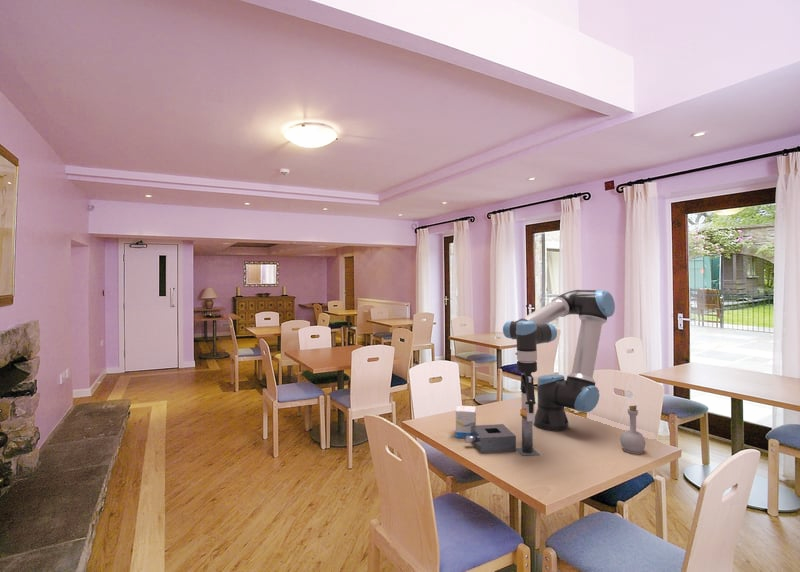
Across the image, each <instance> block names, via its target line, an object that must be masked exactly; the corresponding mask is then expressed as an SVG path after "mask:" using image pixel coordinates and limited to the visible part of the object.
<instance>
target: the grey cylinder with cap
mask: <svg viewBox="0 0 800 572" xmlns="http://www.w3.org/2000/svg"><path fill="white" fill-rule="evenodd" d="M519 415H520V417H521V448H522V451H523V452H525V453H532V452H533V448H534V446H533V441H534V439H533V437H534V436H533V433H534V432H533V431H534V430H533V428H534V421H527V408H523V409H522V408H520V412H519Z"/></svg>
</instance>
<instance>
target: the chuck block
mask: <svg viewBox="0 0 800 572" xmlns="http://www.w3.org/2000/svg"><path fill="white" fill-rule="evenodd" d="M465 442H466V443H468V444H469V443H473V444H474V446H475V447H476V448H477V449H478V451H479V452H480V454H491V453H492V454H493V453H507V452H508V453H509V452H517V450H516V448H517V435H516V434H515V433H513V432H512V431H511V430H510V429H509V428H508V427H507V426H506V425H505V424H503V423H500V424H499V423H498V424H483V425H482V424H480V425H479V424H478V425H477V424H476V426H471V436H466V438H465Z"/></svg>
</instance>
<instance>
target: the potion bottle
mask: <svg viewBox="0 0 800 572" xmlns="http://www.w3.org/2000/svg"><path fill="white" fill-rule="evenodd" d="M637 406H638V405H630V406H628V407H629V408H628V409H627V413H628V416H629V430H628V429H627V430H625V431H623V432H622V434H621V436H620V439H619V441H620V445H621V446H622V450H623V451H624V452H625V453H628V452H629V453H628V454H632V453H634V454H633V455H640V453H642V452H643V451H645V447H646V440H645V437H644V436H643V433H641V432H639V431H637V416H638V415H639V410H638V409H637ZM642 454H643V453H642Z"/></svg>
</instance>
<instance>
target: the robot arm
mask: <svg viewBox="0 0 800 572" xmlns="http://www.w3.org/2000/svg"><path fill="white" fill-rule="evenodd" d="M615 309H616V305H615V300H614V297H613V294H611V292H610V291H607V290H602V289H575V290H570V291H567V292H565V293H562V294H560V295H558V296H555V297H554V298H553V299H552V300H551V302H549V303H547V304H546V305H544V306H542V307H540V308H538V309H536V310H535V311H533V312H531V313H529V314H527V315H526V316H524V317H521V318H519V319H518V320H515V321H514V320H510V321H509V320H508V321H506V322H505V323H504V325H503V326H502V333H503V335H504V337H505V338H507V339H511V340H516V352H515V353H514V354H515V356H516V360H517V362H516V370H517V371H518V372H519V373H521V375H520V392H521V395H520V396H521V397H520V398H521V409H523V408H527V421H533V426H535V427H537V428H539V429H542V430H545V431H556V432H559V431H565V430H567V429H569V420H568V417H567V414H566V411H565V408H567V409H570V410H575V411H577V412H583V413H590V412H592V411H593V410H594V409H595V408H596V406H597V405H598V403H599V400H600V390H599V388H598V387H597V386H596V383H597V382H596V381H595V380H594V378H593V377H594V371H595V367H596V360H597V355H598V349H599V344H600V343H599V342H600V340H601V339H600V337H601V333H602V327H603V325H605V323H607V322H608V321H607V319H608V318H610V317H612V316H613V315H614V313H615ZM568 315H578V318H579V320H580V321H581V322H580V327H579V333H578V338H577V342H576V343H577V344H576V347H575V348H576V349H575V353H574V358H573V364H572V369H571V373H569V374H568V375H567V376H566V379H565V375H562V374H543V375H540V376H538V378H537V383H536V384H537V385H536V386H537V387H536V388H537V389H536V392H537V408H536V412H535V405H536V397H535V395H536V394H535V385H534V380H535V379H534V376H533V375H532V373H536V372H537V371H538V362H537V360H538V351H537V345H540V344H546V343H551V342H554V341H555V340H556V339H557V337H558V336H557V335H558V331H557V328H556V326H555V325H554V324H553V323H551V322H553V321H555V320H557V319H559V318H560V317H561V318H563V317H567V316H568Z"/></svg>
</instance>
